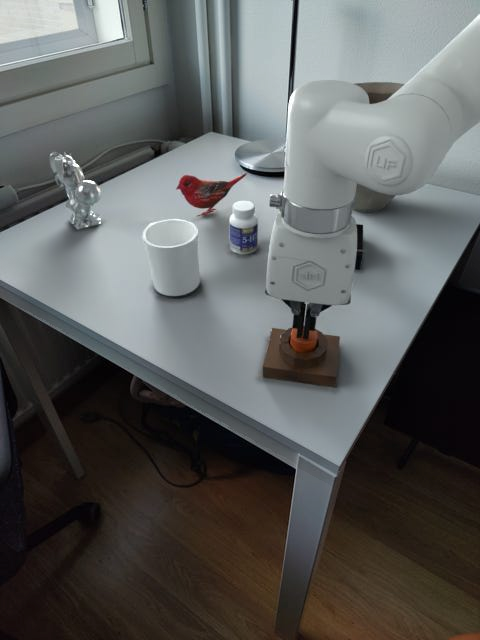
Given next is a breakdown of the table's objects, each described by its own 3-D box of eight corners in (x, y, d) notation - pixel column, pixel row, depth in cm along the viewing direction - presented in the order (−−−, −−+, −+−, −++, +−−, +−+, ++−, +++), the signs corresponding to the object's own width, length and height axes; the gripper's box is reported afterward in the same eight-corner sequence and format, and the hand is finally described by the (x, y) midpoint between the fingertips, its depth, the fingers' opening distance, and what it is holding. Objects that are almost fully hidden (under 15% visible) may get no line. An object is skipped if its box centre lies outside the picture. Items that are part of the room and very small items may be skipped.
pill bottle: (244, 258, 86) (244, 215, 80) (224, 248, 89) (222, 206, 83) (263, 246, 89) (264, 204, 83) (243, 237, 92) (242, 196, 86)
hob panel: (361, 238, 91) (364, 223, 89) (361, 278, 81) (364, 263, 79) (290, 231, 93) (290, 217, 91) (280, 270, 83) (281, 255, 81)
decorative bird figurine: (176, 221, 97) (170, 176, 90) (243, 197, 105) (242, 153, 98) (183, 227, 95) (178, 181, 89) (251, 201, 103) (251, 158, 96)
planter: (434, 192, 105) (464, 87, 90) (412, 244, 89) (444, 126, 74) (329, 172, 114) (341, 74, 99) (292, 216, 98) (299, 106, 83)
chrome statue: (117, 233, 94) (101, 161, 84) (89, 243, 91) (69, 170, 81) (86, 206, 102) (68, 138, 92) (59, 215, 100) (38, 146, 90)
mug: (212, 285, 80) (209, 233, 73) (170, 307, 76) (162, 254, 69) (176, 259, 86) (169, 209, 80) (135, 278, 82) (124, 227, 75)
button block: (338, 346, 68) (341, 326, 66) (335, 387, 62) (339, 367, 60) (271, 338, 70) (272, 318, 67) (262, 377, 64) (262, 357, 61)
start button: (317, 336, 65) (318, 327, 64) (315, 354, 62) (316, 345, 61) (291, 333, 65) (292, 323, 64) (288, 350, 63) (289, 341, 62)
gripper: (243, 219, 49) (243, 343, 61) (389, 233, 46) (359, 359, 59) (255, 188, 54) (254, 307, 66) (386, 198, 52) (360, 320, 64)
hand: (303, 331), depth 62 cm, fingers closed
